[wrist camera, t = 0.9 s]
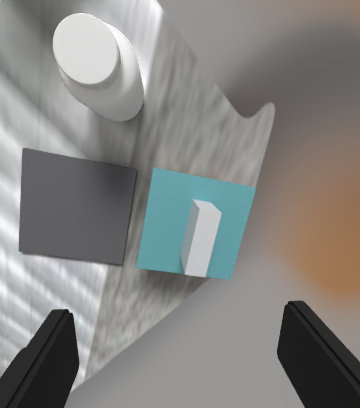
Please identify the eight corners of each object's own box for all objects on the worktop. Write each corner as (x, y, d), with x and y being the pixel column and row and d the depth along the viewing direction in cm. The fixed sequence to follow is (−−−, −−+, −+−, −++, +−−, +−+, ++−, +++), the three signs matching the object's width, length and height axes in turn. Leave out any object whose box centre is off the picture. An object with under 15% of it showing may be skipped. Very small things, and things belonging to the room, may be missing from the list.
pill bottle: (110, 132, 33) (72, 117, 19) (79, 81, 31) (11, 19, 16) (154, 107, 33) (151, 73, 18) (127, 54, 31) (99, -32, 16)
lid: (223, 268, 34) (243, 303, 26) (138, 257, 32) (131, 290, 24) (246, 185, 31) (276, 196, 23) (153, 167, 29) (152, 172, 21)
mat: (122, 262, 38) (122, 264, 38) (21, 249, 36) (18, 251, 35) (137, 169, 35) (136, 170, 34) (25, 148, 32) (22, 148, 32)
